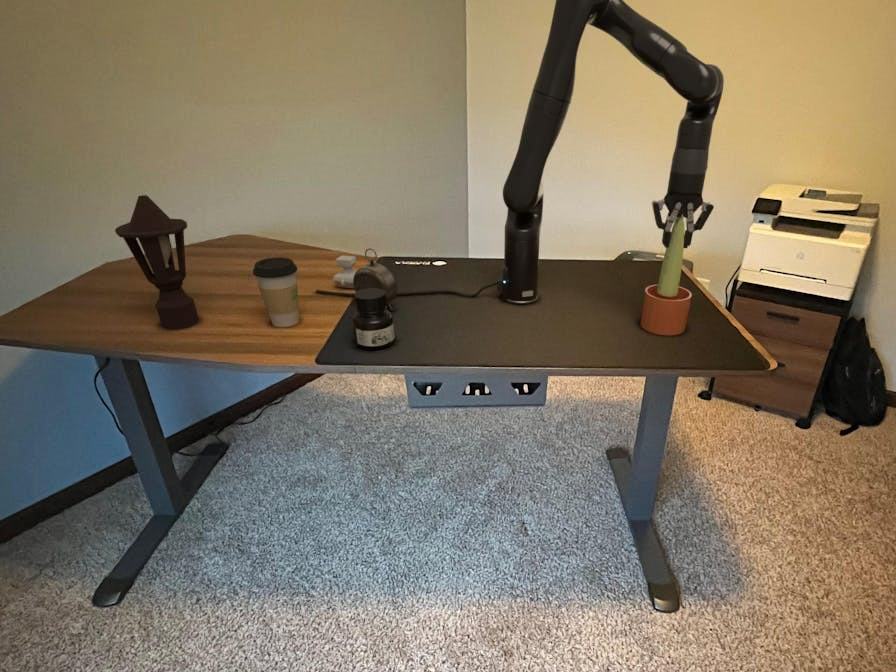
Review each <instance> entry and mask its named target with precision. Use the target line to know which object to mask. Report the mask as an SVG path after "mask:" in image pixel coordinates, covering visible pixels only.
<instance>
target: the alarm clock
mask: <svg viewBox="0 0 896 672" xmlns="http://www.w3.org/2000/svg"><path fill="white" fill-rule="evenodd" d="M368 251H372V252H373V253H374V255H375V258H374V259H373V258H371V259H369V258H368V256H367V252H368ZM364 256H365V258H366V260H368V261H369V263H367V264H366V265H364V266H362V267H360V268H358V269H357V271H356V273H355V275H354V278H353V285H354V288H353V289H354V291H355V292H354V293H356V292H357V291H359V290H362V289H367V288H377V289H381V290H384V291H385V292H386V302H387V305H386V306H387V308H389V309H390V312H394V309H393V306H391V304H390V303H391V302H393V300H394V299H395V298H396V296H397V295H396V293H398V286H397V281H396V278H395V276H394V275H393V273H392V272H391V271H390V269H388V268H387V267H386V266H385V265H383V264H381V263H378V262H375V261H376V260H377V258H378V255H377V252H376V250H375V249H373V248H372V247H371V248H370V247H369V248H367V249H366V250H365V251H364Z"/></svg>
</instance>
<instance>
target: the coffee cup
mask: <svg viewBox="0 0 896 672" xmlns="http://www.w3.org/2000/svg"><path fill="white" fill-rule="evenodd" d="M297 272H298V267H297V265H296V264H295V262H294V260H293V259H292V258H288V257H277V256H276V257H268V258H264V259H260V260H258V261H256V262H255V263H254V267H253V269H252V275H253V276H254V277H255V278H256V281H257V287H258V290H259V292H260V294H261V295H260V296H261V298H262V300H263V303H264V305H265V309H266V311H267V313H268V315H269V319H270V321H271V324H272V325H273V326H274V327H276V328H289V327H291V326H292V327H293V326H295V325H297V324H298V323H299V322H300V318H299V291H298V279H297Z"/></svg>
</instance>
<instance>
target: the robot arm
mask: <svg viewBox="0 0 896 672" xmlns="http://www.w3.org/2000/svg"><path fill="white" fill-rule="evenodd" d="M551 18H552V19H551V24H550V30H549V33H548V37H547V40H546V41H547V42H546V45H545V48H544V50H543V51H544V52H543V55H542V57H541V61H540V65H539V69H538V72H537V76H536V79H535V82H534V84H533V87H532V91H531V95H530V98H529V102H528V105H527V109H526V113H525V118H524V122H523V124H522V130H521V134H520V139H519V144H518V148H517V151H516V154H515V157H514V160H513V161H512V165H511V168H510V170H509V172H508V174H507V177H506V180H505V182H504V185H503V187H502V199H503V203H504V205H505V207H506V208H507V213H506V221H505V225H504V241H503V243H504V252H503V253H504V254H503V256H504V257H503V271H502V272H503V274H498V277H497V281H495V282H492V283H489V284H486V285H484V286H482V287H480V288H479V290H478V291H476V292H475V293H473V294H466V293H462V292H458V291H455V290H449V289H448V290H447V289H446V290H445V289H439V290H438V289H437V290H422V291H421V290H418V291H406V292H405V291H403V292H397V293H396V296H409V295H427V294H428V295H429V294H452V295H453V294H454V295H457V296H459V297H460V296H461V297H466V298H475V297H477V296H478V295H479V294H481V292H482V291H484V290H486V289H488V288H492V287H494V286H496V287H497V292H502V302H505V303H509V304H514V305H529V304H532V303H535V302H537V301H538V294H539V293H538V292H539V291H538V289H539V288H538V286H539V268H540V267H539V266H540V265H539V264H540V263H539V262H540V243H541V242H540V241H541V240H540V239H541V227H542V222H543V212H544V193H545V192H544V191H545V189H544V184H543V175H544V171H545V167H546V164H547V161H548V159H549V157H550V154H551V152H552V150H553V148H554V147H555V145H556V142H557V140H558V138H559V136H560V134H561V132H562V130H563V127H564V124H565V122H566V120H567V117H568V114H569V111H570V107H571V106H572V102H573V99H574V95H575V89H576V77H577V57H578V52H579V47H580V44H581V41H582V38H583V35H584V32H585V30H586V27H587V25H589V26H592V27H593V28H596V29H598V30H600V31H602V32H604V33H605V34H607V35H609V36H611V37H612V38H614V40H616V41H617V42H619V44H621V46H622V47H624V48H625V49H626V50H627V51H628V53H630V55H632V56H633V57H634V58H635V59H636V60H637V61H638V62H640V63H641V64H642V65H643V66H645V68H647V69H649V70H650V71H651V72H653V73H654V74H655V75H657V76H658V77H660V78H661V79H663V80H664V81H665V82H666V83H667V84H668V86H669V87H671V88H672V90H674V91H675V92H676V93H677V94H678V95H679V96H680V97H681V98H683V99H684V100H685V101H686V102H687V103H686V107H685V111H684V115H683V117H682V118H681V119H680V121H679V124H678V127H677V133H676V140H675V147H674V151H673V154H672V158H671V165H670V171H669V176H668V177H669V178H668V183H667V190H666V194H665V195H664V197H663V199H660V200H653V201H652V202H651V207H652V211H653V216H654V221H655V225H656V226H657V229H659V230H662V238H661V239H662V240H661V244H662V245H663V246H664V248H665V249H666V248H668V247H669V242H670V235H671V231H672V228H673V225H674V222H675V219H676V217H682V215H683V217H684V219H685V226H686V230H684V249H688V248H689V247H691V245H692V240H693V234H694V232H696V231H701V230H702V229H703V228H704V226H705V224H706V222H707V221H708V219H709V218H710V216H711V214H712V212H713V210H714V208H715V206H714V204H712V203H711V202H709V201H708V202H706V201H705V200H704V198H703V191H704V186H705V180H706V175H707V170H708V164H709V155H710V154H709V153H710V145H711V142H712V141H711V140H712V136H713V135H712V134H713V129H714V123H715V119H716V117H717V113H718V111H719V107H720V104H721V101H722V96H723V92H724V87H725V78H724V73H723V71H722V70H721V68H720V67H719V66H717V65H715V64H710V63H705V62H703V61H701V60H700V59H699V58H698V57H696V56H695V55H694V54H692V53H691V52H689V51H688V48H687V47H686V45H685V44H683V43H682V42H681V41H680V40H678V39H677V38H676V37H675V36H673V35H672V34H670V33H669V32H667V30H665V29H663V28H662V27H661V26H659V25H657V24H656V23H655V22H653V21H651V20H650V19H648V18H646V17H645V16H643V15H642V14H640V13H639V12H637V11H636V10H635V9H634V8H633V7H631V6H630V5H629V4H627V3H626V2H625V1H624V0H555V3H554V9H553V14H552V17H551ZM664 205H665V207H666V208H667V210H668V212H667V215H666V218H665V221H664V222H663V218H662V214H661V211H663V208H664ZM699 208H700V211H701V212H700V214H699V215H698V218H697V219H696V221H695V218H694V217H695V215H694V214H695V212H696V211H698V209H699ZM315 293H316V294H317V293H319V294H325V295H333V296H344V297H345V296H346V297H354V294H355V293H356V292H352V293H351V292H339V291H329V290H321V289H316V290H315Z"/></svg>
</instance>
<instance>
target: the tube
mask: <svg viewBox="0 0 896 672" xmlns="http://www.w3.org/2000/svg"><path fill="white" fill-rule="evenodd" d="M684 219H685V217H683V215H682V217H676V219H675V221H674V223H673V225H672V227H671V230H670V232H671V235H670V242H669V247H668V248H665V252H664V256H663V261H662V264H661V270H660V274H659V279H658V282H657V285H658V288H657V293H658V294H659V295H661V296H665V297H674V296H676V295H677V294H678V288H679V287H680V281H681V274H682V267H683V260H684V259H683V258H684V249H685V248H684V235H685V220H684Z"/></svg>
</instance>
